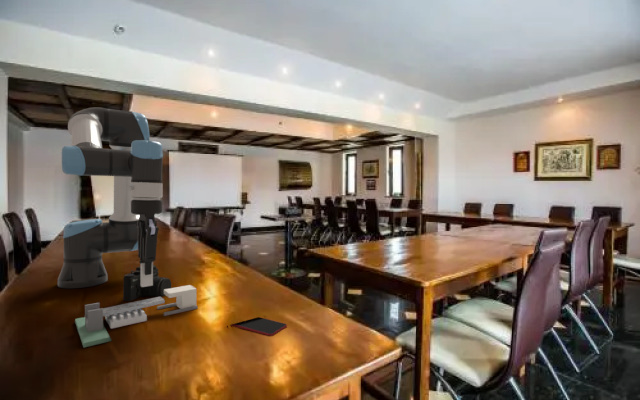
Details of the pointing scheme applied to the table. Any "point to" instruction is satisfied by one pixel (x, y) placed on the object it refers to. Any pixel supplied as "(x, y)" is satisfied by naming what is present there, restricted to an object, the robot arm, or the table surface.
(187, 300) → the white stepped block
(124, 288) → the camera
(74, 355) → the table surface
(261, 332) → the smartphone
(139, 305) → the grey board dark edge
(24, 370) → the table surface
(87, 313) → the heatsink board
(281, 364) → the table surface
